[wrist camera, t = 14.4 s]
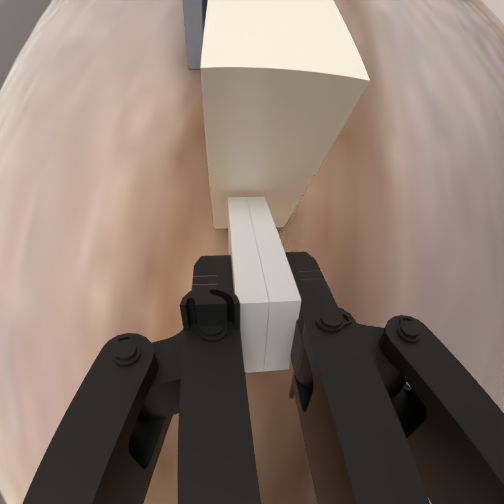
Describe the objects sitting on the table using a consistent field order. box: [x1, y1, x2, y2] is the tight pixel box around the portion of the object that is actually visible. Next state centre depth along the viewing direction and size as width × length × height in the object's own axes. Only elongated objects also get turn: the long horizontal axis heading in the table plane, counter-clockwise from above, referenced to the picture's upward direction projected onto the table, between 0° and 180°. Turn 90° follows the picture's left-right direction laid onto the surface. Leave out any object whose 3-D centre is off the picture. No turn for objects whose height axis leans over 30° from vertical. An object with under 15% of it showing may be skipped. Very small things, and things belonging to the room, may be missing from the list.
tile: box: [200, 0, 370, 229], centre depth 13 cm, size 13×4×12 cm, turn 3°
